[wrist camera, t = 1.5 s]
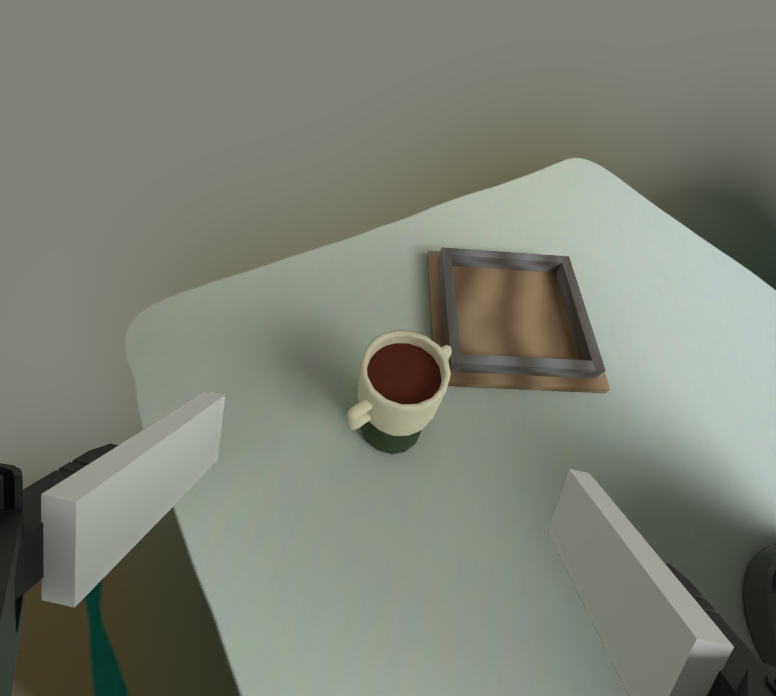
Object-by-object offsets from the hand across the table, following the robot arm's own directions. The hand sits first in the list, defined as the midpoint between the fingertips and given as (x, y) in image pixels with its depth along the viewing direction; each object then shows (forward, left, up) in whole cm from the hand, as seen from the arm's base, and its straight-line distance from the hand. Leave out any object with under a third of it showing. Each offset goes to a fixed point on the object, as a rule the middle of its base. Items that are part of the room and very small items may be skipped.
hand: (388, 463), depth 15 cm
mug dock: (-17, -25, -24) cm, 39 cm away
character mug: (-2, -10, -25) cm, 27 cm away
